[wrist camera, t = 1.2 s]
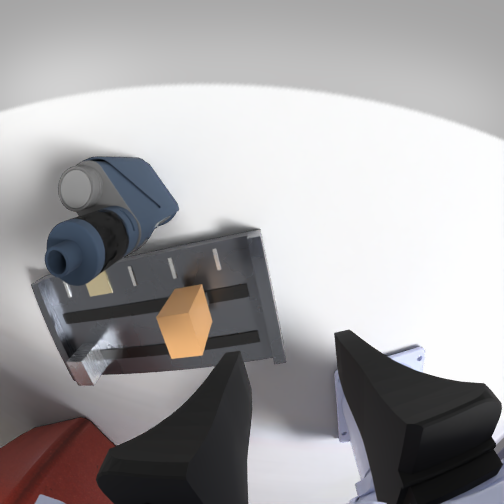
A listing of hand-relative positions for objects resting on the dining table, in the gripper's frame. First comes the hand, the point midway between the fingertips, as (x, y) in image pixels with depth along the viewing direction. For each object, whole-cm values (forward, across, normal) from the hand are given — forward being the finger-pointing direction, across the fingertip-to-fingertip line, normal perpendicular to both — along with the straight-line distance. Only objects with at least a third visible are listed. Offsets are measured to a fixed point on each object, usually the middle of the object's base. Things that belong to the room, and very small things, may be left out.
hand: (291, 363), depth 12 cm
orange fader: (+9, +6, 0) cm, 10 cm away
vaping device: (+10, +7, -7) cm, 14 cm away
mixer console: (+10, +10, +1) cm, 14 cm away
